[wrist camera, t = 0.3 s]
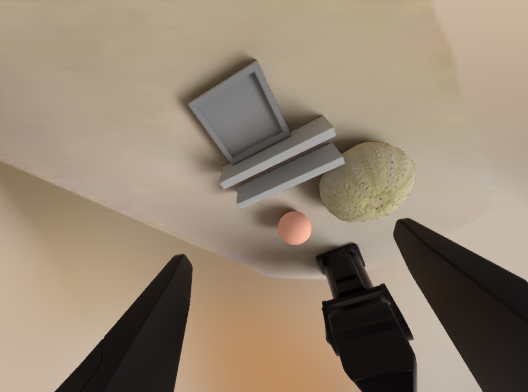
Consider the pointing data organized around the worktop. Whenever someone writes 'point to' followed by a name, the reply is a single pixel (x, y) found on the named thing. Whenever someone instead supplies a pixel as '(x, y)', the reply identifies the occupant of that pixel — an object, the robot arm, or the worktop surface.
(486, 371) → the robot arm
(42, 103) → the worktop surface
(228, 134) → the coaster
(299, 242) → the ball
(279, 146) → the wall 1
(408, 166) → the sea urchin shell
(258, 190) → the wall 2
